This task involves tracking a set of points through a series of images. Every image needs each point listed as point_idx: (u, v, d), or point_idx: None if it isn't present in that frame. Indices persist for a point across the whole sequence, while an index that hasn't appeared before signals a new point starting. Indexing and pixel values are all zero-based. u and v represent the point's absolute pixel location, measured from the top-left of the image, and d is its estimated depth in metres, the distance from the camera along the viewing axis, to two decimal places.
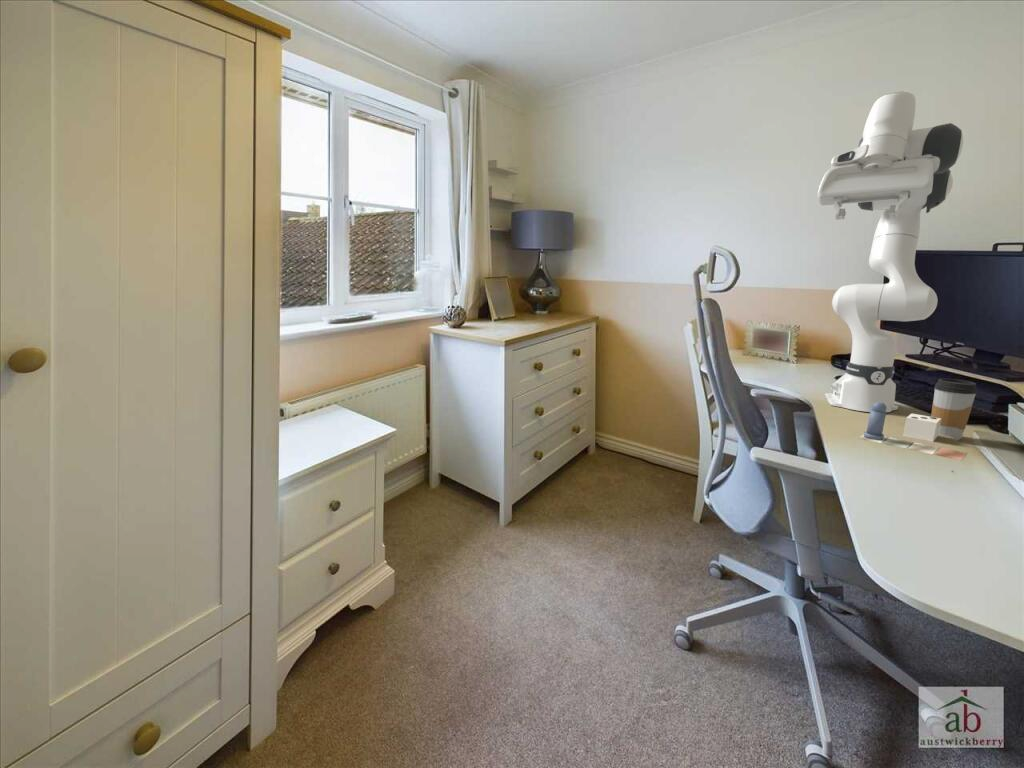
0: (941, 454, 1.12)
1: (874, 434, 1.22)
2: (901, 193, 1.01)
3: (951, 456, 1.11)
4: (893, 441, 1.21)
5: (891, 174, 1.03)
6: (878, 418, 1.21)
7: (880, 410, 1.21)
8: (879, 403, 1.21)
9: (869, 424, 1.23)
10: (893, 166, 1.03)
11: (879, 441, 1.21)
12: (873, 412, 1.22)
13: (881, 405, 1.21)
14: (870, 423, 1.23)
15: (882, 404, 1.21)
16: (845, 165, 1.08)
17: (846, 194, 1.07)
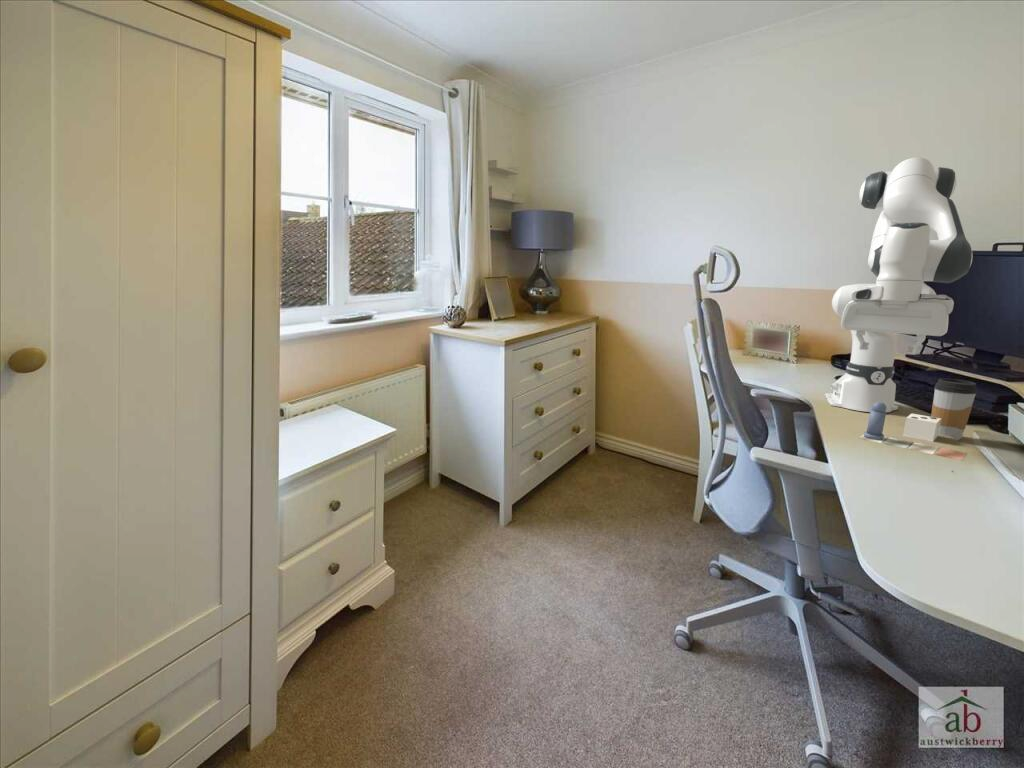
0: (941, 454, 1.12)
1: (874, 434, 1.22)
2: (917, 336, 1.12)
3: (951, 456, 1.11)
4: (893, 441, 1.21)
5: (907, 315, 1.13)
6: (878, 418, 1.21)
7: (880, 410, 1.21)
8: (879, 403, 1.21)
9: (869, 424, 1.23)
10: (909, 308, 1.12)
11: (879, 441, 1.21)
12: (873, 412, 1.22)
13: (881, 405, 1.21)
14: (870, 423, 1.23)
15: (882, 404, 1.21)
16: (863, 302, 1.17)
17: (867, 330, 1.18)
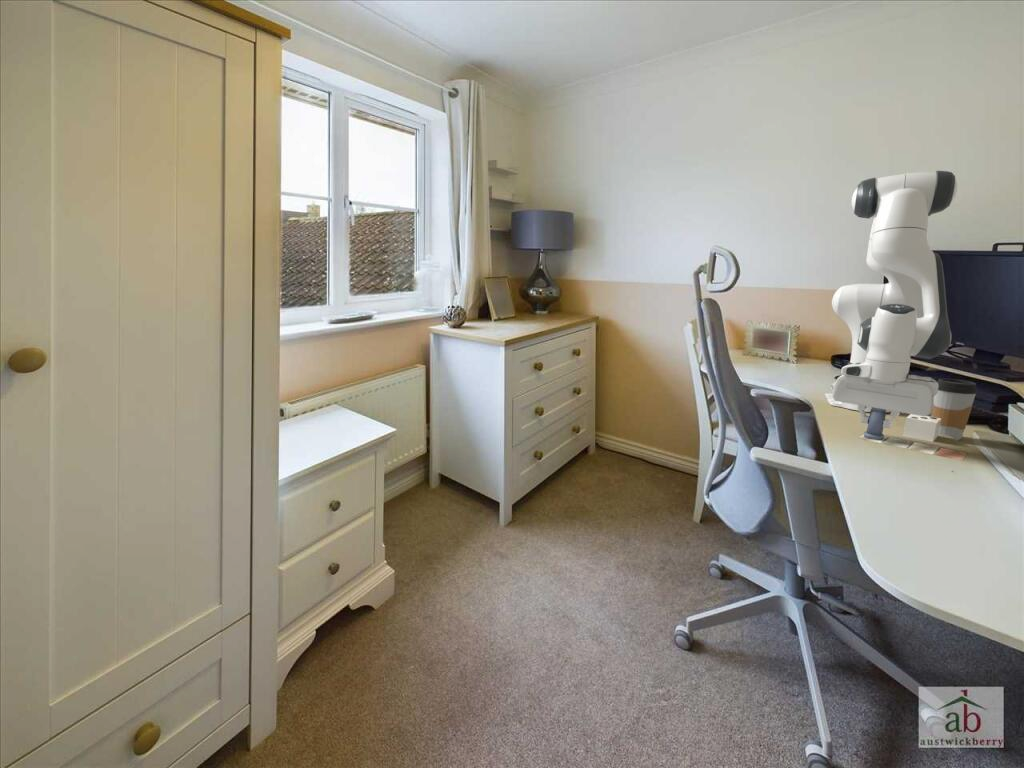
0: (941, 454, 1.12)
1: (874, 434, 1.22)
2: (892, 411, 1.19)
3: (951, 456, 1.11)
4: (893, 441, 1.21)
5: (894, 394, 1.18)
6: (878, 418, 1.21)
7: (880, 410, 1.21)
8: None
9: (869, 424, 1.23)
10: (896, 387, 1.17)
11: (879, 441, 1.21)
12: (873, 412, 1.22)
13: None
14: (870, 423, 1.23)
15: None
16: (853, 378, 1.23)
17: (857, 404, 1.24)
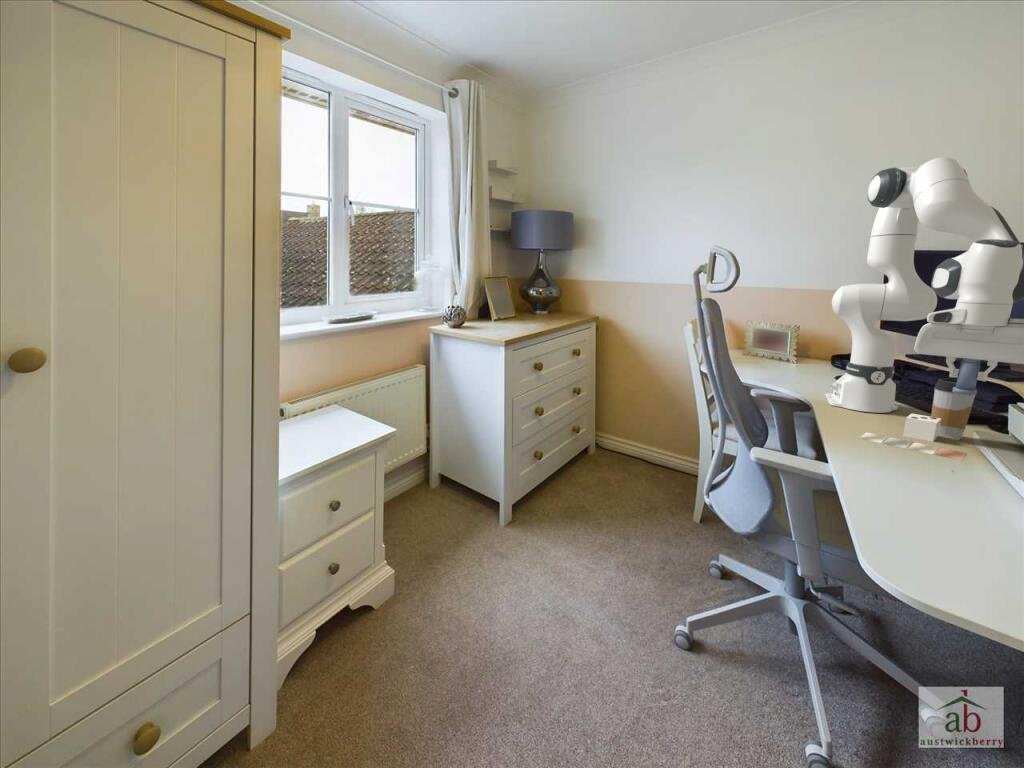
0: (941, 454, 1.12)
1: (966, 389, 1.08)
2: (989, 362, 1.05)
3: (951, 456, 1.11)
4: (893, 441, 1.21)
5: (993, 341, 1.04)
6: (972, 370, 1.07)
7: (974, 361, 1.06)
8: None
9: (960, 378, 1.09)
10: (995, 333, 1.03)
11: (879, 441, 1.21)
12: (965, 363, 1.08)
13: None
14: (961, 376, 1.08)
15: None
16: (942, 325, 1.09)
17: (945, 355, 1.10)
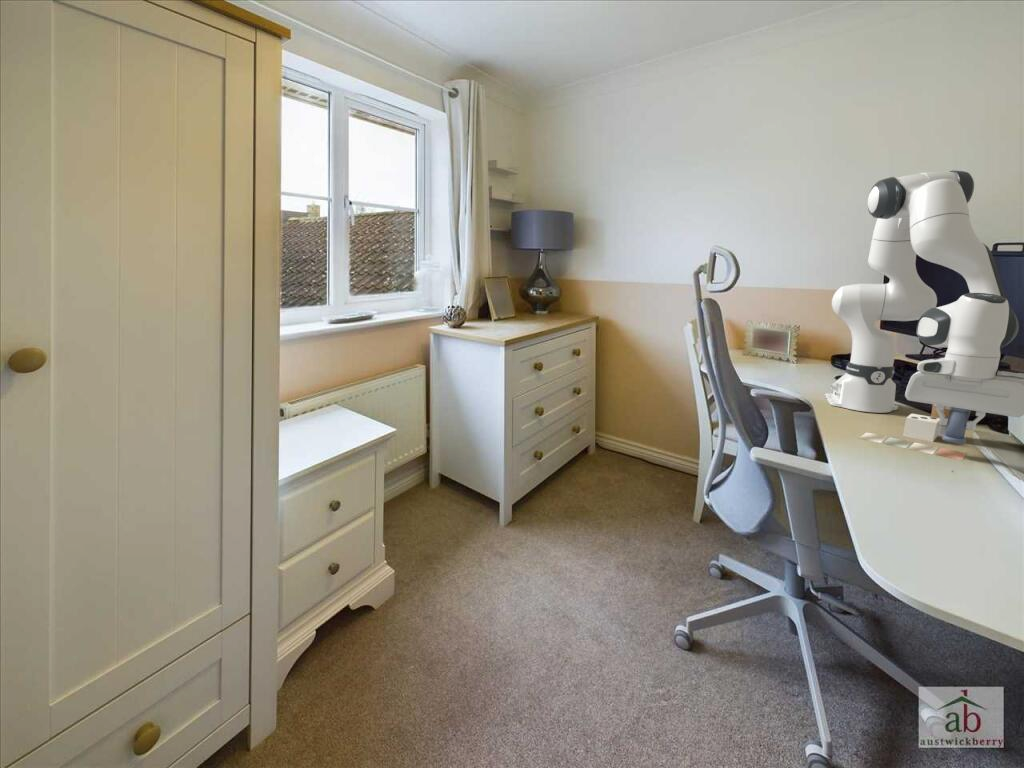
0: (941, 454, 1.12)
1: (955, 437, 1.10)
2: (977, 412, 1.07)
3: (951, 456, 1.11)
4: (893, 441, 1.21)
5: (981, 392, 1.06)
6: (961, 419, 1.09)
7: (963, 410, 1.09)
8: None
9: (949, 426, 1.11)
10: (983, 385, 1.05)
11: (879, 441, 1.21)
12: (954, 412, 1.10)
13: None
14: (950, 425, 1.11)
15: None
16: (932, 375, 1.11)
17: (935, 404, 1.12)
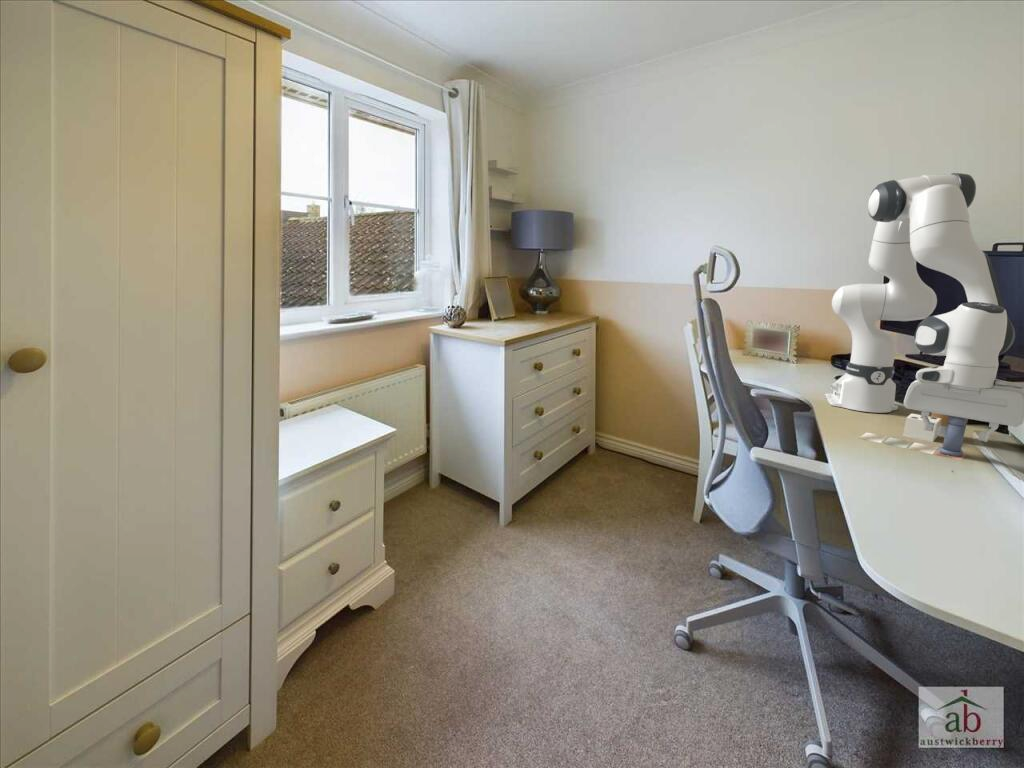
0: (941, 454, 1.12)
1: (952, 450, 1.11)
2: (990, 423, 1.06)
3: (951, 456, 1.11)
4: (893, 441, 1.21)
5: (979, 402, 1.07)
6: (957, 433, 1.10)
7: (959, 424, 1.10)
8: None
9: (946, 439, 1.12)
10: (981, 394, 1.06)
11: (879, 441, 1.21)
12: (951, 426, 1.11)
13: (961, 418, 1.10)
14: (947, 438, 1.12)
15: None
16: (930, 383, 1.12)
17: (933, 412, 1.13)
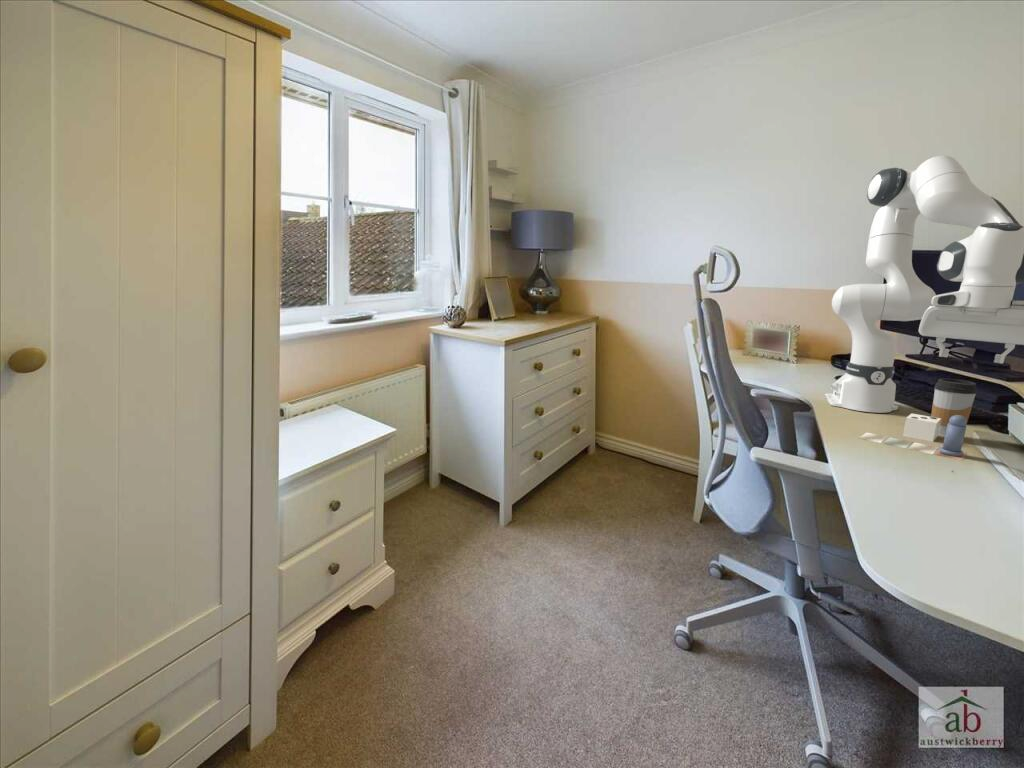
0: (941, 454, 1.12)
1: (952, 450, 1.11)
2: (1006, 344, 1.06)
3: (951, 456, 1.11)
4: (893, 441, 1.21)
5: (995, 323, 1.07)
6: (958, 433, 1.10)
7: (960, 424, 1.10)
8: (959, 416, 1.10)
9: (946, 439, 1.12)
10: (998, 315, 1.06)
11: (879, 441, 1.21)
12: (951, 426, 1.11)
13: (962, 419, 1.10)
14: (948, 438, 1.12)
15: (962, 418, 1.10)
16: (946, 308, 1.11)
17: (948, 337, 1.13)
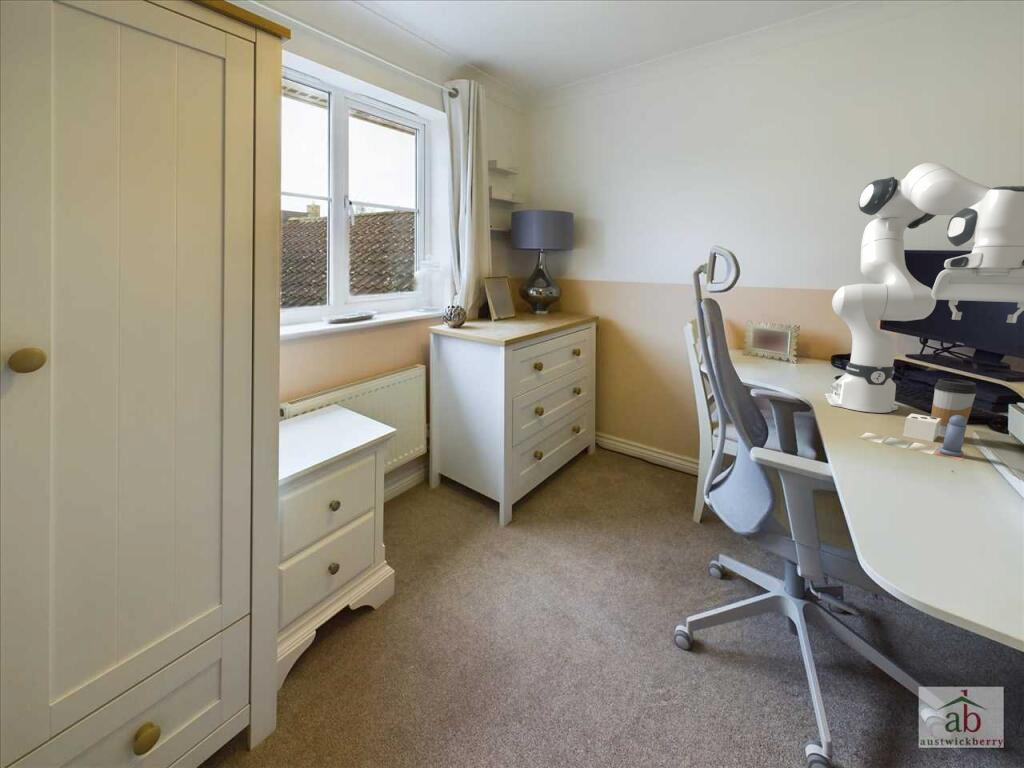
0: (941, 454, 1.12)
1: (952, 450, 1.11)
2: (1019, 304, 1.09)
3: (951, 456, 1.11)
4: (893, 441, 1.21)
5: (1008, 283, 1.09)
6: (958, 433, 1.10)
7: (960, 424, 1.10)
8: (959, 416, 1.10)
9: (946, 439, 1.12)
10: (1010, 275, 1.09)
11: (879, 441, 1.21)
12: (952, 426, 1.11)
13: (962, 419, 1.10)
14: (948, 438, 1.12)
15: (962, 418, 1.10)
16: (959, 270, 1.14)
17: (961, 299, 1.15)
